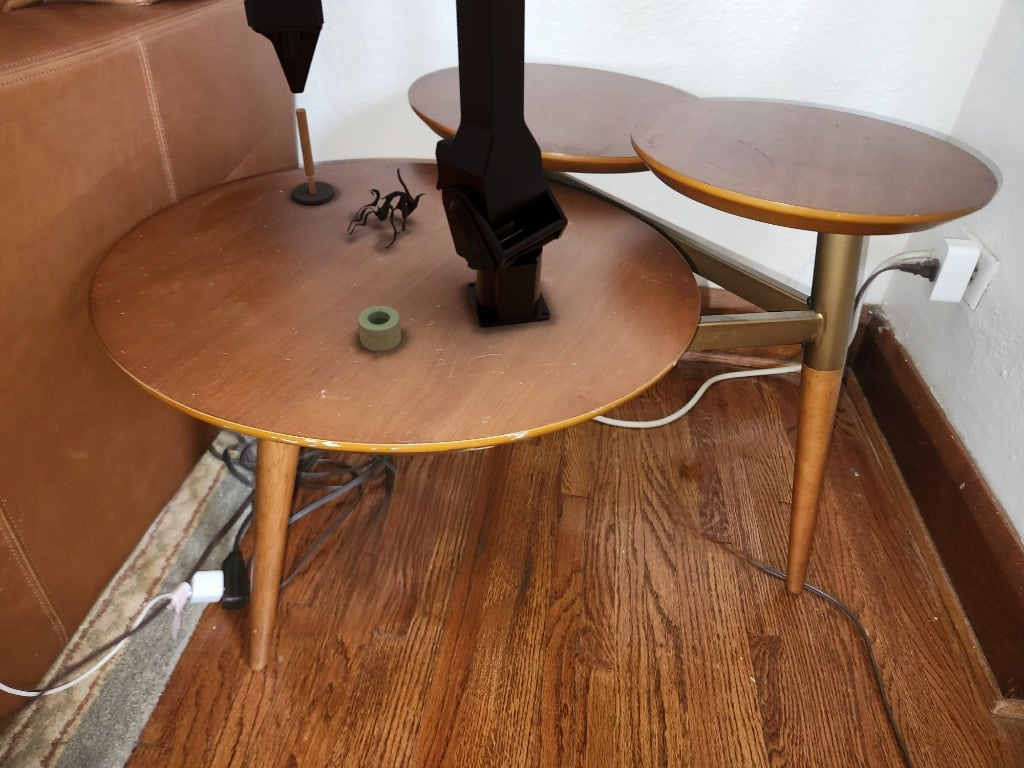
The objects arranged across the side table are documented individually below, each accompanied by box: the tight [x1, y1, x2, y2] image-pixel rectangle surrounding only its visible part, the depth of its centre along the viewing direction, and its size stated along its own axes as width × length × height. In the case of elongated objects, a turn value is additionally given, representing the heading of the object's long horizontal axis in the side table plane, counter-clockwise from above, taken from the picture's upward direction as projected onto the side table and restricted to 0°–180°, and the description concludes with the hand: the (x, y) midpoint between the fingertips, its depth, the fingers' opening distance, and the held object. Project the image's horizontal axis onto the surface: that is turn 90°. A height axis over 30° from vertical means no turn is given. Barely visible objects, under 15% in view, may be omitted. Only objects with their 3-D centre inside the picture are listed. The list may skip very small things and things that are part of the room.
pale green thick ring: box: [357, 304, 402, 352], centre depth 66 cm, size 3×4×2 cm
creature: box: [346, 167, 427, 249], centre depth 78 cm, size 8×5×8 cm
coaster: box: [292, 180, 336, 206], centre depth 85 cm, size 4×4×1 cm
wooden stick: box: [295, 107, 316, 194], centre depth 81 cm, size 1×1×9 cm
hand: (295, 74), depth 76 cm, fingers open, 9 cm apart
